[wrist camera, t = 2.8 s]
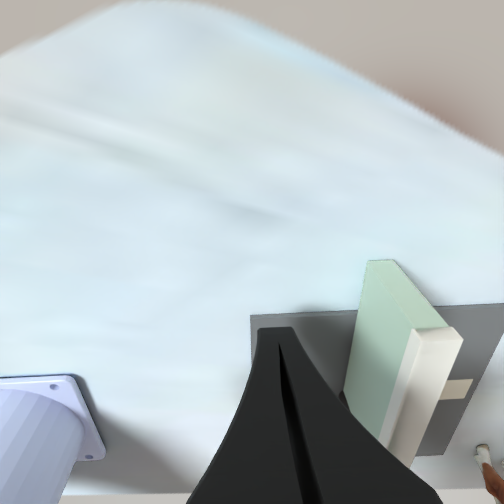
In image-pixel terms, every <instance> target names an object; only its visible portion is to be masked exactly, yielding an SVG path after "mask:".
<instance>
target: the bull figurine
mask: <svg viewBox="0 0 504 504" xmlns="http://www.w3.org/2000/svg"><path fill="white" fill-rule="evenodd" d="M476 449H477V453H478V455H475V456H474V458H475V460H476V461H477V463H478V465H479V467H480V469H481V471H482V473H483V476H484V479H485V484H486V489H487V491H488V492H489V493H490V494H492V495H493V496H494V499H495V501H496V504H504V480H503V479H502V478H501V477H500V476H499V475H498V474H497V472H496V471H495V470H494V468H493V466H492V464H491V460H490V452H489V448H488V446H487V445H485V444H483V445H480V446H478V447H477V448H476ZM502 466H503V469H504V461H502Z"/></svg>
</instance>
